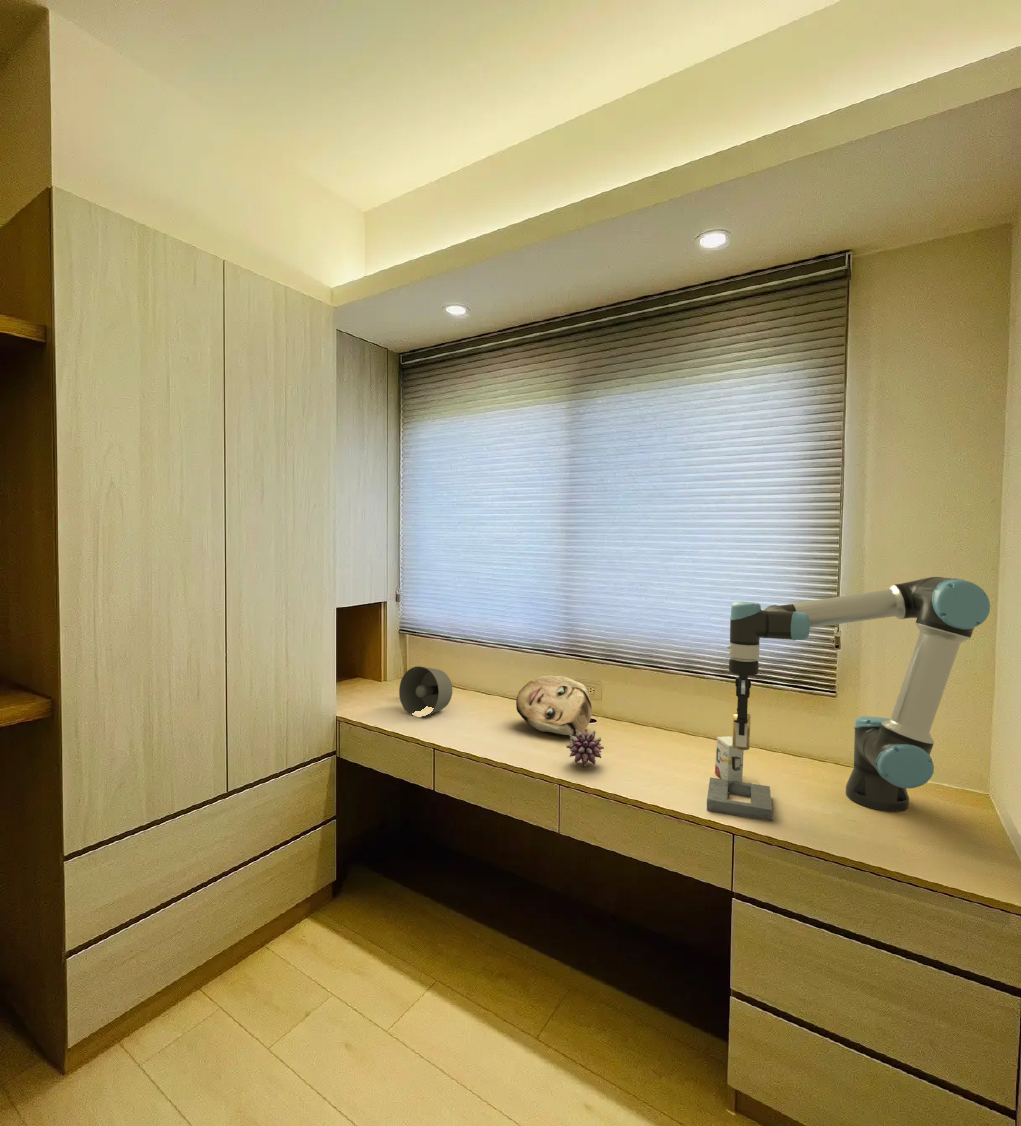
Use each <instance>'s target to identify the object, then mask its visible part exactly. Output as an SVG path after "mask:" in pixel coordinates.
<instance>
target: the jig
mask: <svg viewBox="0 0 1021 1126" xmlns="http://www.w3.org/2000/svg"><path fill="white" fill-rule="evenodd" d="M708 783H709V784H708V788H707V789H708V791H707V797H706V811H708V812H713V813H714V812H715V813H720V814H727V815H733V816H737V817H744V818H749V819H754V820H761V821H767V822H773V805H772V804H773V803H772V796H771V795H772V794H771V787H770V786H769V785H764V784H763V785H762V784H756V783H750V782H743V781H742V782H737V781H731V780H724V779H721V778H719V777H718V778H717V777H716V778H715V777H709V782H708ZM728 794H730V795H731V794H732V795H737V796H743V797H750V799H749V800H750V803H749V802H745V801H738V800H731V799H728V798H729V795H728Z"/></svg>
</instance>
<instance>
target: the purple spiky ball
mask: <svg viewBox="0 0 1021 1126" xmlns="http://www.w3.org/2000/svg"><path fill="white" fill-rule="evenodd" d="M575 731H576V735H569V740H570V742H569V744H566V745H565V746H566V749H570V750H569V752H570V753H569V757H570V758H571V757H574V759H573V760H574V764H577V763H578V762H579V761H581V763H582V766H583V767H584V768H585V767H587V764H588V763H592V764H593V765H596V758H600V759H602V755H601V754H602V753H601V752H602V750H604V749H605V747H604V746H603V745H601V741H602V737H601V736H600V737H596V730H593V731H591V732H590V733H589V732H588V727H587V728H585V729H584V732H583V733H581V732H579V731H578V730H575Z"/></svg>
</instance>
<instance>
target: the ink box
mask: <svg viewBox="0 0 1021 1126" xmlns="http://www.w3.org/2000/svg"><path fill="white" fill-rule="evenodd" d="M732 739H733V736H729V735H727V736H716V748H715V749H716V750H715V765H714V774H715V775H716V776H717V777H718V778H719V779H724V780H731V781H737V782H743V770H744V751H745V750H739V749H735V748H733V747H732Z"/></svg>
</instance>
